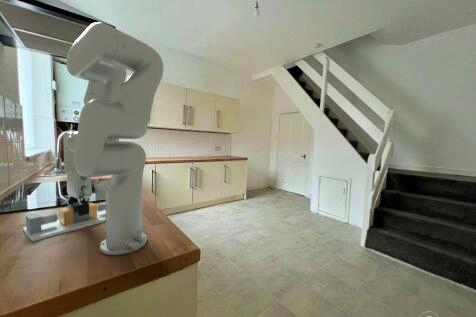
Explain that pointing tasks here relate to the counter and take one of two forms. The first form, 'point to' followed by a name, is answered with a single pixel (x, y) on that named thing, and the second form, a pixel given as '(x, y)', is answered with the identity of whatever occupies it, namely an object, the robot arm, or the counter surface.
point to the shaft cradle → (57, 224)
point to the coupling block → (76, 214)
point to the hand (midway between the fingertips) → (78, 211)
